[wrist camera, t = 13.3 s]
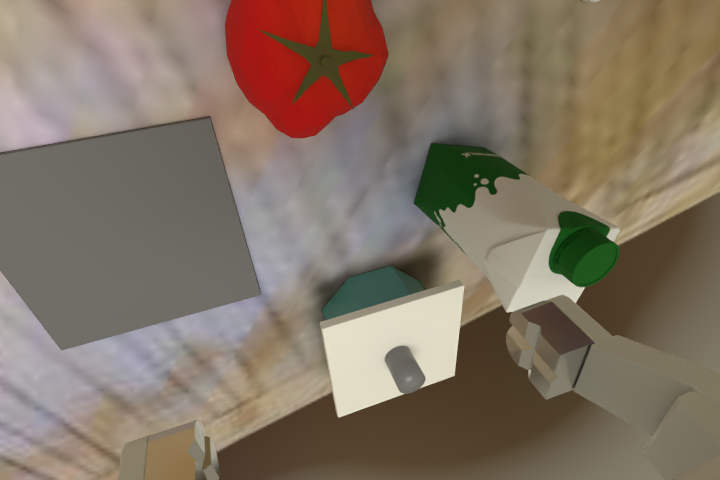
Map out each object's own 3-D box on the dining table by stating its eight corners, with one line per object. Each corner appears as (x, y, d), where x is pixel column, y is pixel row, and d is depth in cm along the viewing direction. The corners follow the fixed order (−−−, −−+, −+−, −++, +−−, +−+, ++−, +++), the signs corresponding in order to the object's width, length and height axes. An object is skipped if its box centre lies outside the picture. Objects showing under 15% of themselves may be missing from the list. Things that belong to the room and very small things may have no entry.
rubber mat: (209, 116, 34) (209, 118, 34) (260, 291, 46) (261, 294, 46) (-75, 165, 30) (-78, 168, 29) (62, 346, 41) (61, 350, 41)
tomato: (219, 110, 34) (230, 158, 26) (220, -79, 28) (234, -92, 20) (346, 121, 39) (388, 164, 31) (372, -41, 32) (434, -40, 24)
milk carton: (494, 140, 45) (654, 236, 30) (467, 212, 50) (595, 328, 34) (425, 133, 42) (566, 238, 27) (403, 211, 47) (512, 339, 31)
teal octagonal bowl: (419, 257, 51) (446, 292, 46) (417, 328, 59) (441, 366, 54) (317, 285, 48) (334, 327, 43) (330, 357, 56) (345, 400, 51)
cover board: (459, 279, 45) (485, 310, 42) (450, 369, 55) (470, 401, 51) (319, 322, 42) (333, 359, 38) (335, 410, 51) (348, 448, 47)
